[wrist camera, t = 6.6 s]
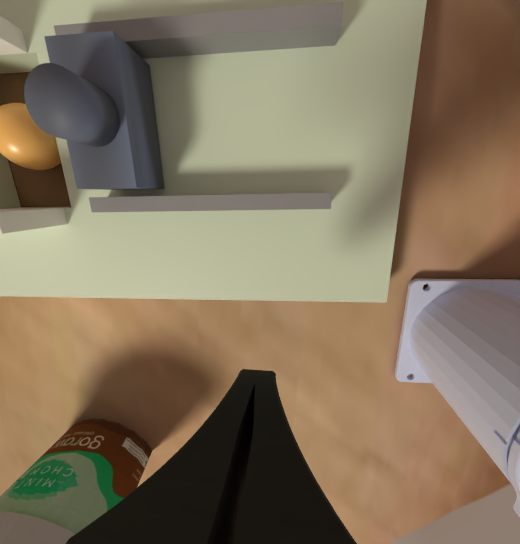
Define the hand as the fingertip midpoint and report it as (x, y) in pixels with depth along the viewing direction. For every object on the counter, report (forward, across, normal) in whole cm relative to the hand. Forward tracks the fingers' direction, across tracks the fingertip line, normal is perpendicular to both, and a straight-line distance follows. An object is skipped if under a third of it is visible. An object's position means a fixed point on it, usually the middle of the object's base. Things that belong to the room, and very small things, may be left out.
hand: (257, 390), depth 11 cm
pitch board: (+9, +7, -11) cm, 16 cm away
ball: (+7, +14, -11) cm, 19 cm away
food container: (+9, +16, +14) cm, 24 cm away
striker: (+7, +8, -11) cm, 15 cm away
